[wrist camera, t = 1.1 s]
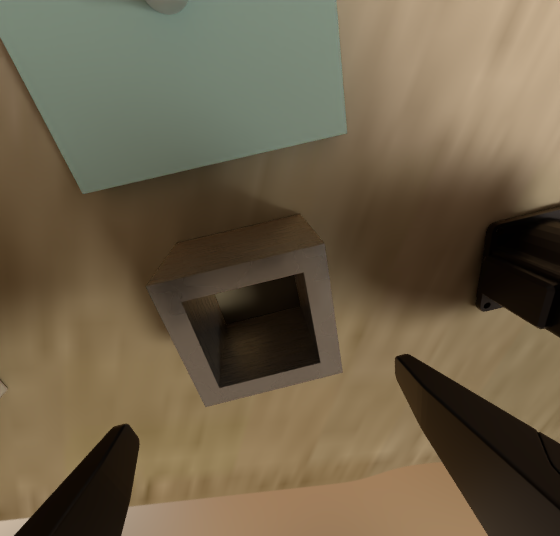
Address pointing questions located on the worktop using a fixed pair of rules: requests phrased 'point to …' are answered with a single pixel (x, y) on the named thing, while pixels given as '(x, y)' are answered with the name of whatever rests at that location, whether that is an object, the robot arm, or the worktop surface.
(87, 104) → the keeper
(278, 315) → the link
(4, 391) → the coffee box
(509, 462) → the robot arm
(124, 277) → the worktop surface
